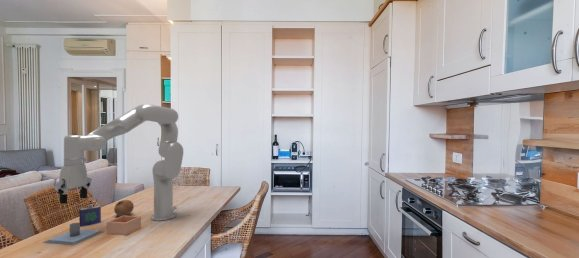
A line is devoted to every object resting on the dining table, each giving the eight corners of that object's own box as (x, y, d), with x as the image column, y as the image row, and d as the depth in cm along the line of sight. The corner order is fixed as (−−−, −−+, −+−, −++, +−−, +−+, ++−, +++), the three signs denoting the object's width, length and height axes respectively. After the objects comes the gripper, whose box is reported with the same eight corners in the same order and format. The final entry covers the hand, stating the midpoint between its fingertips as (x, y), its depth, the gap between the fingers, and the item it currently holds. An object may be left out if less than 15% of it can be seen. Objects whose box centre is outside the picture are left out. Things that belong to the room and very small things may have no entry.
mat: (76, 230, 137) (76, 229, 137) (104, 232, 134) (104, 231, 134) (41, 244, 121) (41, 242, 121) (73, 246, 118) (73, 245, 118)
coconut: (119, 223, 157) (112, 209, 152) (116, 214, 164) (109, 201, 159) (137, 214, 162) (131, 200, 157) (134, 206, 169) (127, 193, 164)
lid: (75, 230, 135) (75, 218, 135) (99, 232, 133) (99, 220, 133) (48, 241, 122) (48, 228, 122) (73, 243, 120) (73, 230, 120)
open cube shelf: (123, 227, 141) (123, 215, 141) (140, 228, 140) (140, 216, 139) (106, 234, 131) (106, 221, 131) (125, 236, 130) (125, 223, 130)
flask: (100, 222, 149) (100, 202, 149) (101, 223, 147) (101, 203, 147) (78, 226, 142) (78, 205, 142) (80, 228, 140) (80, 206, 140)
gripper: (84, 160, 137) (83, 195, 136) (47, 164, 119) (47, 205, 119) (97, 160, 135) (97, 196, 135) (62, 165, 118) (62, 206, 118)
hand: (73, 200), depth 127 cm, fingers open, 9 cm apart
